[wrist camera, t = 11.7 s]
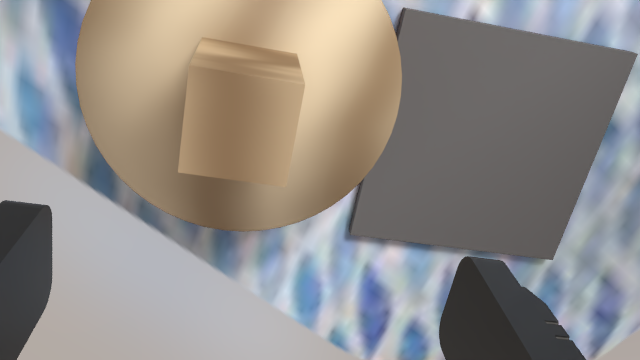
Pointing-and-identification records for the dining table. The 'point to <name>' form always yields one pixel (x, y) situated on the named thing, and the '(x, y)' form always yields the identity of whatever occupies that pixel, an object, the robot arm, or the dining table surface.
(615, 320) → the dining table surface
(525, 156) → the rubber mat
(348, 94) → the oak lid
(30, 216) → the robot arm
